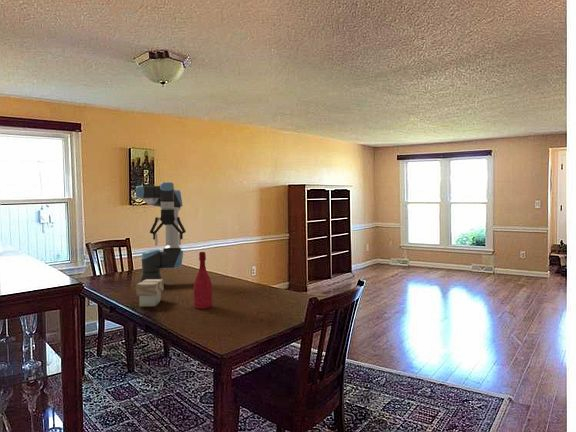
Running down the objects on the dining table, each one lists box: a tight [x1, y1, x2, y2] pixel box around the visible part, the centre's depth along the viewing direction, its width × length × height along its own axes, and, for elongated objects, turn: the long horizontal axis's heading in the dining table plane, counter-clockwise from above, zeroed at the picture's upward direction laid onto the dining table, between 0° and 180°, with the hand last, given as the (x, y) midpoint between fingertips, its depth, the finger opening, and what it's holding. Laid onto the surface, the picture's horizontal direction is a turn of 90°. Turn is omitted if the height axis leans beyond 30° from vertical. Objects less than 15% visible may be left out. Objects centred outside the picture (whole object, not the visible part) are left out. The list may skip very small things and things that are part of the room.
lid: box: [135, 278, 165, 297], centre depth 238 cm, size 15×10×6 cm, turn 178°
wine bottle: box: [193, 251, 213, 310], centre depth 229 cm, size 10×10×30 cm
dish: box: [138, 291, 162, 307], centre depth 238 cm, size 13×8×6 cm, turn 4°
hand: (168, 245), depth 250 cm, fingers open, 13 cm apart
